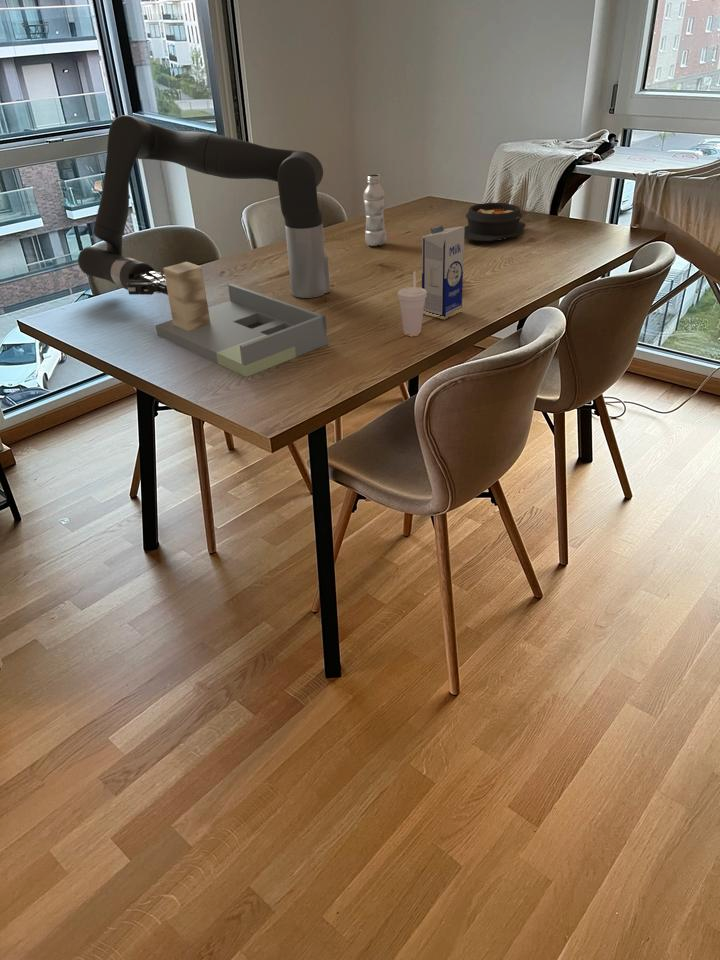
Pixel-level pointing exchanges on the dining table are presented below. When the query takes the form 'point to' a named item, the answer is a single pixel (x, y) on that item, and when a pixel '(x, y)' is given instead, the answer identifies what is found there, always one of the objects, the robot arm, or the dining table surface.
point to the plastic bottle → (374, 211)
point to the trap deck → (251, 332)
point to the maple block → (187, 295)
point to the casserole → (493, 222)
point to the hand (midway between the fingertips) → (171, 290)
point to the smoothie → (412, 307)
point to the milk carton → (443, 269)
